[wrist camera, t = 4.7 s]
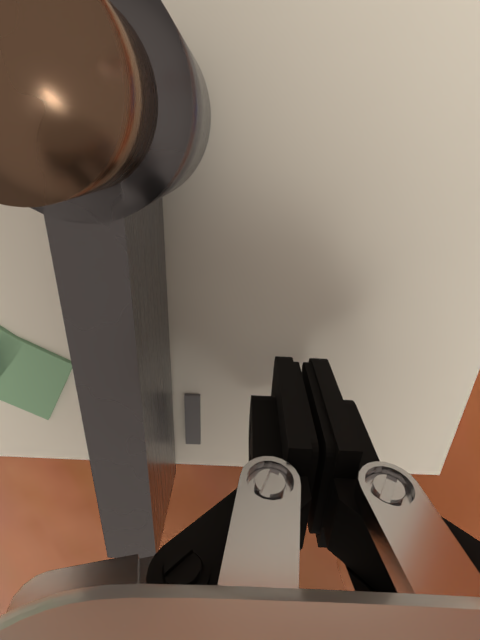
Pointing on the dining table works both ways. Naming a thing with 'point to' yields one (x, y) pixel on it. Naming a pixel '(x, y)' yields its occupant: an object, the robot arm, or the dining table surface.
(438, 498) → the dining table surface
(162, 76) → the grey lever handle
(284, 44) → the dial plate
